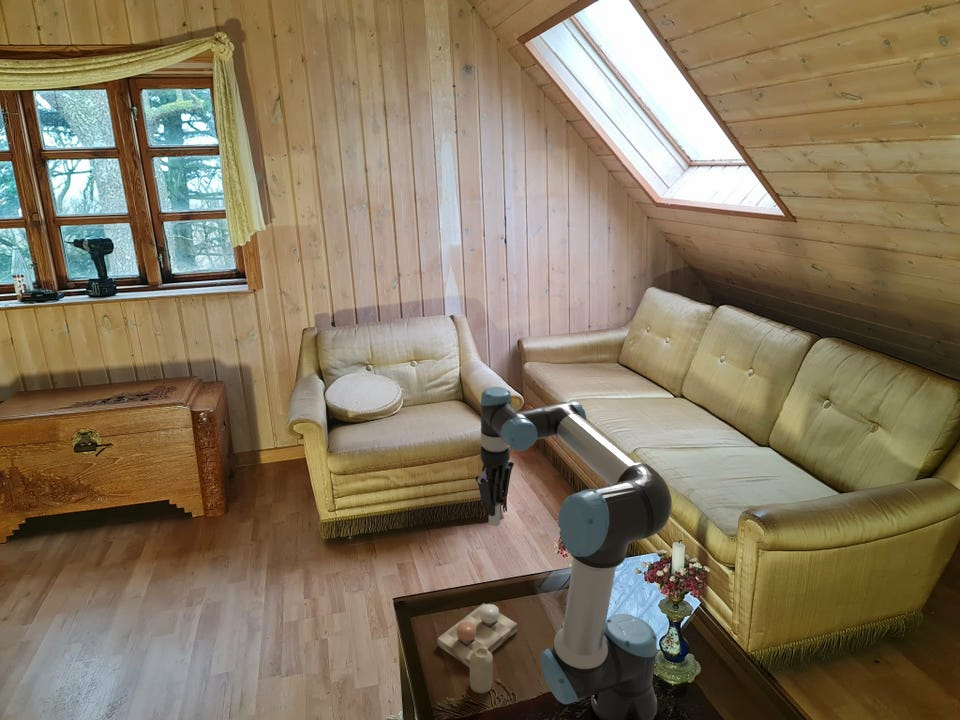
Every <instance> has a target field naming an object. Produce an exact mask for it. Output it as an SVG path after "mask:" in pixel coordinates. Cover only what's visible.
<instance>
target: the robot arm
mask: <svg viewBox="0 0 960 720" xmlns="http://www.w3.org/2000/svg"><path fill="white" fill-rule="evenodd" d="M480 395H481V396H480V397H481V399H480V400H481V401H480V403H479V405H480V460H481V461H482V467H481V472H482V473H481V474H480V476H478V475H476V476H475V479H474V480H475V482H476V483H477V485H478V490H479V494H480V499H481V503H482V505H484V506H486V507H487V514H488V524H490V525H492V526H494V527H496V528H497V527H498V526H499V525H500V524H501V510H502V504H504V503H505V502H506V500H505V499H504V498H507V496H508V492H509V485H510V481H511V475H512V474H511V473H512V470H513V467H514V465H515V463H514V462H513V461H511V460H510V457H511V448H512V450H516V451H522V452H524V451H526V450H528V449H529V448H531V447H532V446H533V445H535V443H536V441H537V440H541V439H545V438H550V437H557V438H558V439H559V441H561V442H563V444H565V445H566V446H567V447H568V448H569V449H570V450H571V451H572V452H573V453H574V454H576V455H577V456H578V457H579V458H580V459H581V460H582V462H584V463H585V464H586V465H587V466H589V468H591V470H593V471H594V472H595V473H596V474H597V475H598V476H599V477H600V478H601V479H603V480H604V481H605V482H606V483H607V484H608V485H604V486H600V487H596V488H593V489H592V488H587V489H583V490H581V491H579V492H577V493H576V492H575V493H573V494H571V495H569V496H568V497H566V498H565V499H564V500H563V502H562V504H561V505H560V508H559V511H558V519H557V523H558V527H559V529H560V530H559V537H560V540H561V542H562V544H563V546H564V547H565V549H566V550H567V552H568V553H569V554H570V556H571V557H572V565H571V572H570V578H569V586H568V590H567V591H568V592H567V598H566V607H565V612H564V613H565V614H564V619H563V627H562V628H560V629H559V630H558V632H556V634H555V636H554V638H553V639H554V641H553V647H551V648H545V650H543V651H542V652H541V654H540V665H541V670H542V673H543V675H544V678H545V681H546V684H547V686H548V688H549V689H550V691H551V693H552V694H553V696H554V697H555V699H556V700H557V701H558V702H560V703H561V704H563V705H569V704H573V703H575V702H577V703H579V702H580V701H582V700H585V699H587V698H590V697H591V700H590V701H591V707H592V710H593V712H594V714H595V716H596V717H597V716H598V717H599V718H600V719H602V720H653V719H654V717H655V715H656V716H657V711H658V710H657V709H658V700H657V699H658V698H657V696H656V694H655V689H654V686H653V678H654V671H655V664H656V655H657V652H658V648H657V647H658V645H657V644H658V642H657V641H658V640H657V639H658V638H657V634H656V632H655V630H654V629H653V628H652V626H651V625H650V624H649V623H648V622H646V621H645V620H644V619H641V618H640V617H638V616H635V615H633V614H632V615H631V614H629V613H618V614H614V615H612V616H610V617H609V618H608V612H609V607H610V601H611V597H612V596H611V595H612V591H613V590H612V589H613V585H614V580H615V575H616V569H617V567H619V566H620V565H622V564H623V563H624V561H625V560H626V558H627V552H628V547H629V544H631V543H634V542H638V541H641V540H644V539H648V538H650V537H653V536H655V535H656V534H658V533H660V531H662V529H664V528H665V526H666V524H668V521H669V519H670V516H671V513H672V508H673V506H672V503H673V502H672V494H671V491H670V488H669V487H668V484H667V483H666V481H665V479H664V478H663V477H662V475H661V474H659V472H657V470H655V469H654V468H653V467H651V465H649V464H647V463H645V462H637V461H636V460H635V459H634V458H632V457H631V456H630V455H629V454H628V453H626V452H625V451H624V450H623V449H621V448H620V447H619V446H618V445H616V443H614V442H613V441H612V440H611V439H609V438H608V437H607V436H606V435H604V434H603V433H602V432H601V431H599V430H598V429H597V428H595V427H594V426H593V425H592V424H591V423H590V422H588V421H587V414H586V412H585V409H584V408H583V405H582V404H581V403H580V402H578V401H575V400H572V401H562V402H559V403H555V404H554V403H553V404H549V405H544V406H538V407H534V408H529V409H523V410H518V409H516V407H514V406H513V404H512V394H511V391H510V390H509V389H507V388H506V387H503V386H491V387H490V386H489V387H487V388H485V389H483V391H482V393H481V394H480ZM598 717H597V718H598ZM599 718H598V719H599ZM655 718H656V717H655ZM600 719H599V720H600ZM654 720H655V719H654Z"/></svg>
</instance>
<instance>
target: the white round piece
mask: <svg viewBox="0 0 960 720" xmlns="http://www.w3.org/2000/svg"><path fill="white" fill-rule="evenodd" d="M485 604H486V603H485ZM499 613H500V610H499V607H498V606H496V605H495V604H490V603H487V604H486V605H484V606H482V607H481V609H480V619H481V620H482V621H483V622H485V626H487V627H489V628H491V627H492V626H494V622H496V621H497V620H498V618H499Z"/></svg>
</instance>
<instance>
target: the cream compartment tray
mask: <svg viewBox="0 0 960 720" xmlns="http://www.w3.org/2000/svg"><path fill="white" fill-rule="evenodd" d="M484 605H486V603H484V602H483V603H482V604H481V605H480V606H479V605H478V607H477V608H475V609H474V610H473V611H471V612H470V613H469V614H467V615H466V616H465V617H463V618H462V619H461V620H460V621H458V622H457V623H456V624H454V625H453V626H452V627H450V628H449V629H448V630H446V631H445V632H443V634H441V635H440V636H439V637H437V646H438V647H439V648H441V649H442V650H443V651H445V652H447V654H449V655H451V656H452V657H453V658H455V659H457V660H458V661H459V662H461V664H463V665H465V666H466V667H468V668H469V669H470V655H471V653H472V652H473V651H475V650H477V649H480V648H484V649H486V650H488V651H489V652H490V653H491V654H492V653H493V652H494V651H495V650H496V649H498V648H499V647H500V646H501V645H503V644H504V642H507V640H508V639H510V637H512V636H513V635H514V634H515V633H517V632H518V623H517V622H515V621H513V620H512V619H510V618H509V617H507V616H505V615H503V614H502V613H501V612H499V618H498V620H497V621H496V622H494V626H492V627H491V628H489V627H487V626H485V622H483V621H482V620H481V619H480V609H481V607H482V606H484ZM462 622H471V623H473V624H474V625H475V626H476V637H475V638H474V639H473V640H472V641H471V644H470V645H469V646H467V647H466V646H464V645H463V644H462V641H461V640H459V639H458V638H457V626H458V624H460V623H462Z"/></svg>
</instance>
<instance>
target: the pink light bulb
mask: <svg viewBox="0 0 960 720" xmlns="http://www.w3.org/2000/svg"><path fill="white" fill-rule="evenodd" d="M475 637H476V626H475V625H474V624H473V623H471V622H462V623H460V624H458V626H457V638H458V639H459V640H461V641H462V644H463V645H464V646H466V647H467V646H469V645H470V644H471V641H472V640H473V639H474V638H475Z"/></svg>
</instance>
